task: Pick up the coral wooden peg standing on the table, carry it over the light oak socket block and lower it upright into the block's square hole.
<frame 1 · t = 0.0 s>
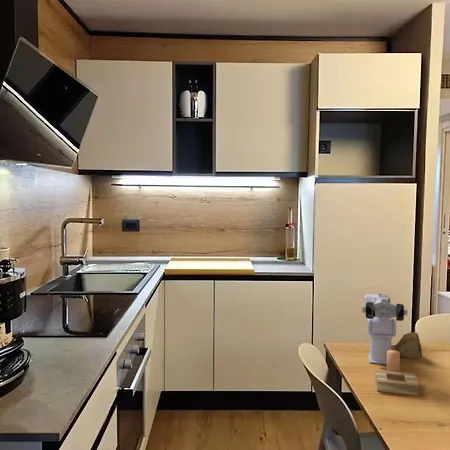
hand: (386, 314, 155), 22 cm above the table, tool horizontal, fingers open, 7 cm apart
peg: (392, 375, 160), on the table
socket block: (395, 386, 150), on the table
rock: (406, 356, 180), on the table
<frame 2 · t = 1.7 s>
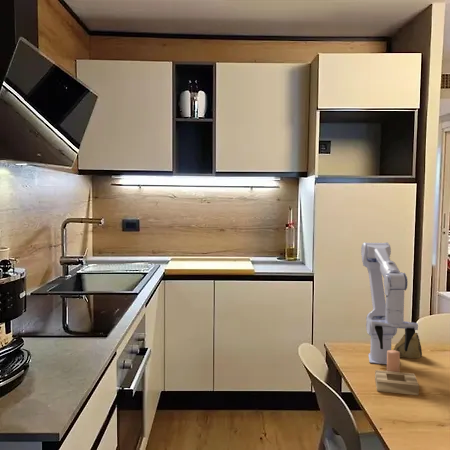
hand: (393, 349, 159), 9 cm above the table, tool pointing down, fingers open, 7 cm apart
nothing on the table moved.
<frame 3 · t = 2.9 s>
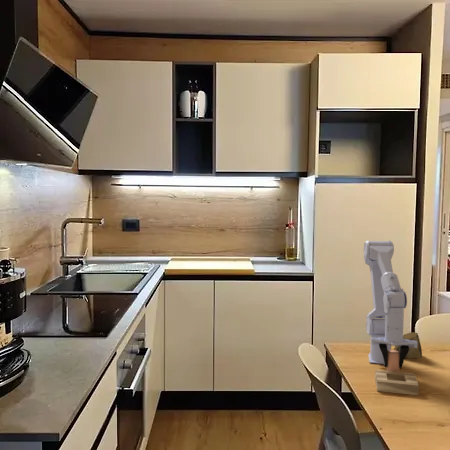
hand: (393, 366, 160), 3 cm above the table, tool pointing down, fingers closed on peg, 4 cm apart
peg: (392, 375, 160), on the table, touching gripper
everything else where it was.
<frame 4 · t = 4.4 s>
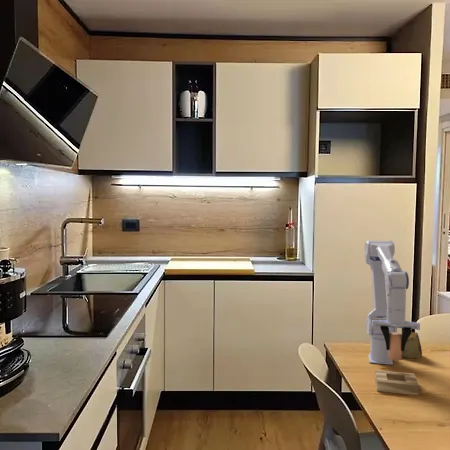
hand: (395, 349, 155), 10 cm above the table, tool pointing down, fingers closed on peg, 4 cm apart
peg: (394, 358, 156), point 7 cm above the table, touching gripper
everything else where it was.
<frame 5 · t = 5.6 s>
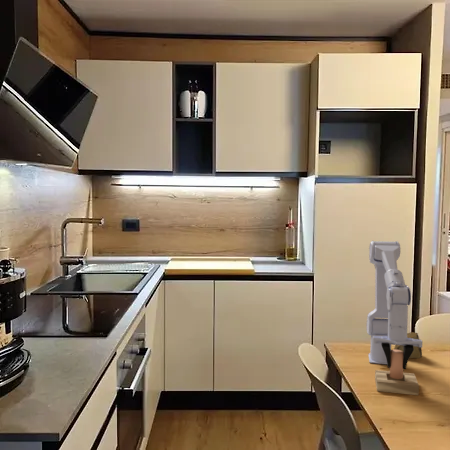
hand: (396, 367, 150), 6 cm above the table, tool pointing down, fingers closed on peg, 4 cm apart
peg: (396, 376, 150), point 3 cm above the table, touching gripper
everything else where it was.
when the fingers open (5 cm above the table, at t = 6.3 s): peg drops 2 cm, resting in socket block.
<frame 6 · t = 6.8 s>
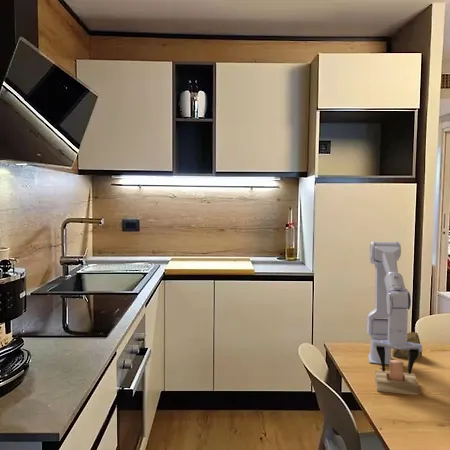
hand: (396, 371, 150), 5 cm above the table, tool pointing down, fingers open, 7 cm apart
peg: (395, 386, 150), resting in socket block
everything else where it was.
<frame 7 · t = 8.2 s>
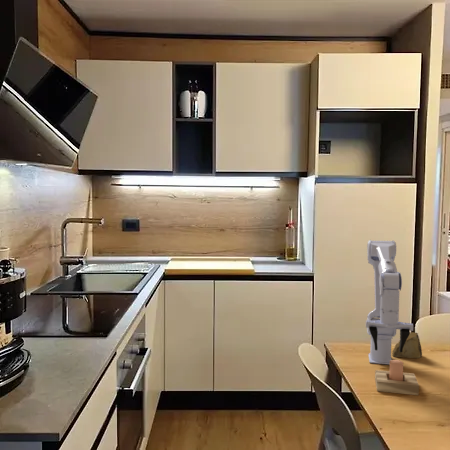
hand: (388, 350, 156), 10 cm above the table, tool pointing down, fingers open, 7 cm apart
nothing on the table moved.
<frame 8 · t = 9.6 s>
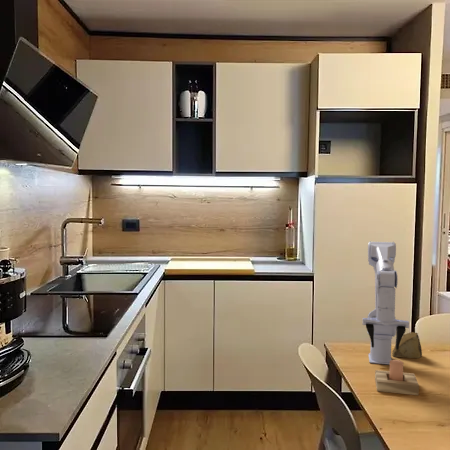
hand: (384, 347, 158), 10 cm above the table, tool pointing down, fingers open, 7 cm apart
nothing on the table moved.
at the end: peg 0.0 cm off-centre on the socket block, point 0.0 cm above the socket block's base; peg tilted 0°; the gripper is holding nothing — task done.
